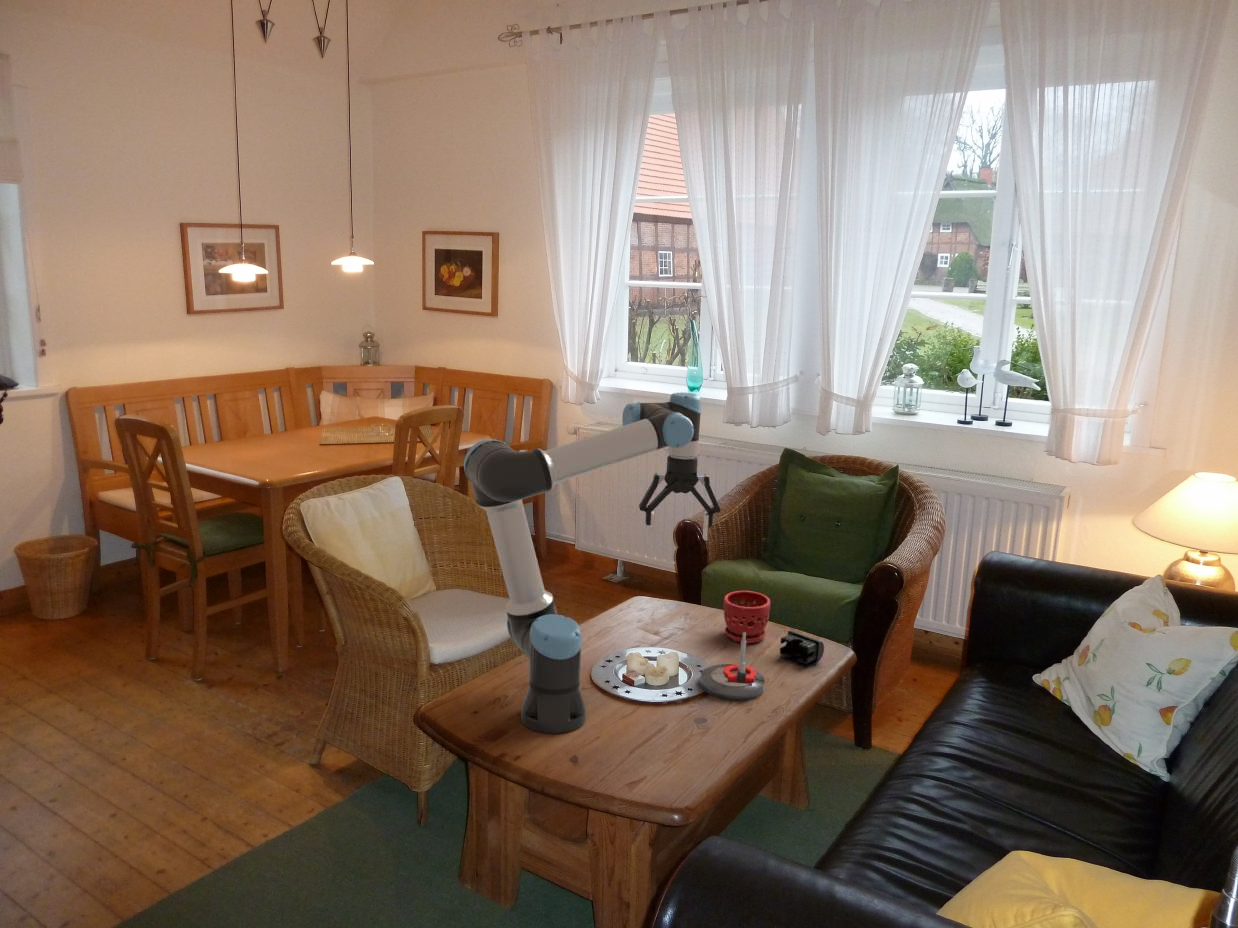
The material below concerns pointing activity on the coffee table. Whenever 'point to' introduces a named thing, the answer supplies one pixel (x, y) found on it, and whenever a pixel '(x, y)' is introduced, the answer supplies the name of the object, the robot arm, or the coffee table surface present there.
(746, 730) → the coffee table surface
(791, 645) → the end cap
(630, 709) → the coffee table surface
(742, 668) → the tow hook
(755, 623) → the plant pot
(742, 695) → the rosette plate
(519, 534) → the robot arm
